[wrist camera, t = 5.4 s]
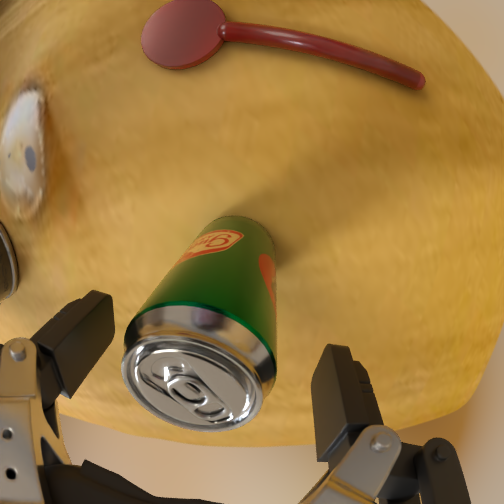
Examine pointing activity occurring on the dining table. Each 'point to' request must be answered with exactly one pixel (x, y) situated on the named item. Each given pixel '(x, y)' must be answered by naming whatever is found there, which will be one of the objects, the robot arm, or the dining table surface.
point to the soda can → (208, 332)
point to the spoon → (249, 41)
